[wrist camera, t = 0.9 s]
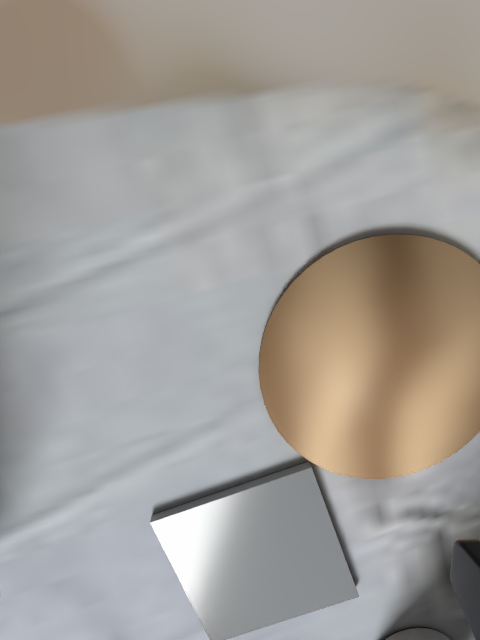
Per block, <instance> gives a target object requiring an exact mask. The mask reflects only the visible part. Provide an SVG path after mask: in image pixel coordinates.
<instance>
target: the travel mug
mask: <svg viewBox="0 0 480 640" xmlns="http://www.w3.org/2000/svg"><path fill="white" fill-rule="evenodd" d="M385 640H451V639H450V638H448V637H447V636H446V635H444V634H443V633H441V632H438V631H436V630H432V629H428V628H411V629H406V630H402V631H399V632H397V633H395V634H393V635H391V636H389V637H388V638H386V639H385Z"/></svg>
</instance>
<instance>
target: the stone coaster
mask: <svg viewBox="0 0 480 640" xmlns="http://www.w3.org/2000/svg"><path fill="white" fill-rule="evenodd" d="M150 524H151V526H152V528H153V530H154V532H155V533H156V535H157V537H158V539H159V541H160V543H161V545H162V547H163V549H164V551H165V553H166V555H167V557H168V559H169V561H170V563H171V565H172V567H173V569H174V571H175V573H176V575H177V577H178V578H179V580H180V582H181V584H182V586H183V588H184V590H185V592H186V594H187V596H188V598H189V600H190V602H191V604H192V606H193V608H194V610H195V612H196V614H197V616H198V618H199V620H200V621H201V623H202V625H203V627H204V629H205V631H206V633H207V635H208V637H209V639H210V640H226V639H229V638H232V637H235V636H239V635H242V634H245V633H248V632H251V631H254V630H257V629H260V628H263V627H267V626H270V625H273V624H276V623H279V622H282V621H285V620H288V619H291V618H294V617H298V616H301V615H304V614H307V613H310V612H313V611H316V610H319V609H322V608H326V607H329V606H332V605H335V604H338V603H341V602H344V601H347V600H350V599H354V598H357V597H359V595H358V592H357V589H356V586H355V584H354V581H353V578H352V575H351V573H350V570H349V567H348V565H347V562H346V559H345V556H344V554H343V551H342V548H341V546H340V543H339V540H338V538H337V535H336V532H335V529H334V527H333V524H332V521H331V519H330V516H329V513H328V510H327V508H326V505H325V502H324V500H323V497H322V494H321V491H320V489H319V486H318V483H317V481H316V478H315V475H314V472H313V470H312V467H311V464H310V462H309V461H308V462H305V463H303V464H300V465H297V466H294V467H291V468H288V469H285V470H282V471H279V472H276V473H273V474H271V475H268V476H265V477H262V478H259V479H256V480H253V481H250V482H247V483H244V484H241V485H239V486H236V487H233V488H230V489H227V490H224V491H221V492H218V493H215V494H212V495H209V496H206V497H204V498H201V499H198V500H195V501H192V502H189V503H186V504H183V505H180V506H177V507H174V508H172V509H169V510H166V511H163V512H160V513H157V514H154V515H152V517H151V521H150Z"/></svg>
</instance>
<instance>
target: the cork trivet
mask: <svg viewBox="0 0 480 640" xmlns="http://www.w3.org/2000/svg"><path fill="white" fill-rule="evenodd" d="M259 379H260V387H261V392H262V395H263V399H264V403H265V406H266V409H267V411H268V413H269V416H270V418H271V420H272V422H273V423H274V425H275V427H276V428H277V430H278V432H279V433H280V434H281V435H282V437H283V438H284V439H285V440H286V442H287V443H288V444H289V445H290V446H291V447H292V448H293V449H295V450H296V451H297V452H298V453H299V454H300V455H302V456H303V457H305V458H306V459H307V460H309V461H310V462H312V463H314V464H316V465H318V466H320V467H322V468H323V469H326V470H329V471H332V472H334V473H337V474H341V475H345V476H349V477H356V478H365V479H384V478H392V477H399V476H403V475H407V474H412V473H415V472H418V471H421V470H423V469H426V468H429V467H431V466H433V465H435V464H437V463H439V462H441V461H443V460H445V459H446V458H448V457H449V456H451V455H452V454H454V453H456V452H457V451H458V450H460V449H461V448H462V447H463V446H465V445H466V444H467V443H468V442H469V441H470V440H471V439H472V438H473V437H474V436H475V435H476V434H477V433H479V432H480V264H479V263H478V262H477V261H476V260H475V259H474V258H472V257H471V256H469V255H468V254H466V253H465V252H463V251H462V250H460V249H458V248H456V247H454V246H452V245H450V244H447V243H445V242H442V241H439V240H435V239H432V238H429V237H422V236H416V235H391V234H390V235H382V236H373V237H369V238H365V239H361V240H357V241H354V242H351V243H349V244H346V245H344V246H341V247H339V248H337V249H335V250H333V251H331V252H330V253H328V254H326V255H324V256H322V257H321V258H320V259H318V260H317V261H315V262H314V263H313V264H311V265H310V266H309V267H307V268H306V269H305V270H304V271H303V272H302V273H301V274H300V275H299V276H298V277H297V278H296V279H295V280H294V281H293V282H292V283H291V284H290V286H289V287H288V288H287V289H286V290H285V292H284V293H283V294H282V296H281V298H280V299H279V301H278V302H277V304H276V306H275V307H274V309H273V311H272V313H271V315H270V318H269V320H268V322H267V324H266V328H265V331H264V334H263V337H262V341H261V347H260V353H259Z"/></svg>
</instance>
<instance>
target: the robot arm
mask: <svg viewBox="0 0 480 640" xmlns="http://www.w3.org/2000/svg"><path fill="white" fill-rule="evenodd" d="M450 575H451V582H452V585H453V588H454V590H455V593H456V595H457V597H458V600H459V602H460V605H461V607H462V609H463V612H464V614H465V616H466V619H467V621H468V623H469V626H470V628H471V630H472V633H473V635H474V637H475V640H480V541H479V540H476V539H466V540H457V541H456V542H455V543H454V547H453V555H452V563H451V571H450Z"/></svg>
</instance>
